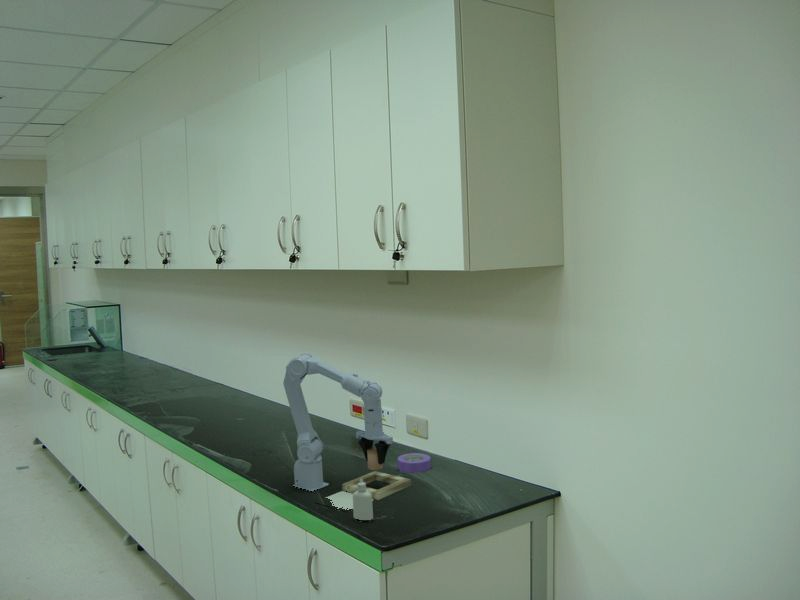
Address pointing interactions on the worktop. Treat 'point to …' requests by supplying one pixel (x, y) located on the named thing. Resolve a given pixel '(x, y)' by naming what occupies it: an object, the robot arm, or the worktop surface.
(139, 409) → the worktop surface
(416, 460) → the masking tape
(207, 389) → the worktop surface
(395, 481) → the holder
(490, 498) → the worktop surface
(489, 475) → the worktop surface
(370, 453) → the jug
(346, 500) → the mat
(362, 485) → the eye dropper bottle
